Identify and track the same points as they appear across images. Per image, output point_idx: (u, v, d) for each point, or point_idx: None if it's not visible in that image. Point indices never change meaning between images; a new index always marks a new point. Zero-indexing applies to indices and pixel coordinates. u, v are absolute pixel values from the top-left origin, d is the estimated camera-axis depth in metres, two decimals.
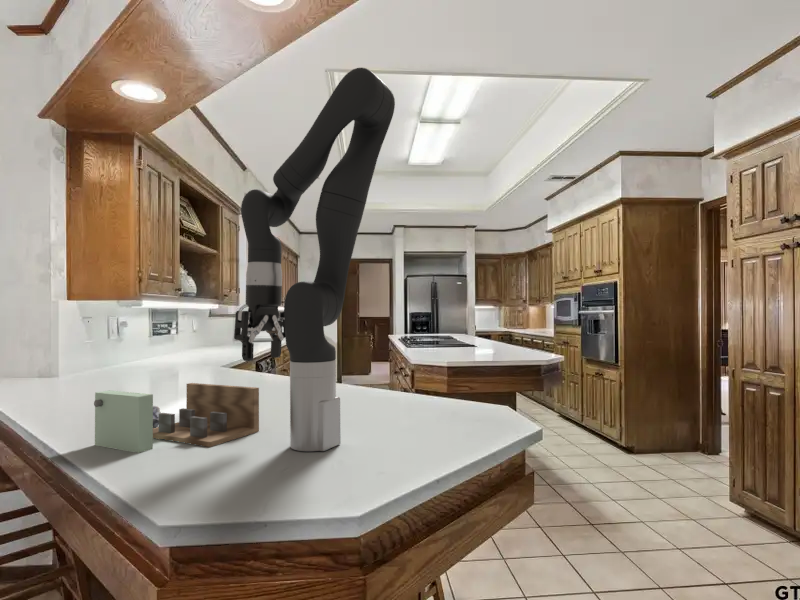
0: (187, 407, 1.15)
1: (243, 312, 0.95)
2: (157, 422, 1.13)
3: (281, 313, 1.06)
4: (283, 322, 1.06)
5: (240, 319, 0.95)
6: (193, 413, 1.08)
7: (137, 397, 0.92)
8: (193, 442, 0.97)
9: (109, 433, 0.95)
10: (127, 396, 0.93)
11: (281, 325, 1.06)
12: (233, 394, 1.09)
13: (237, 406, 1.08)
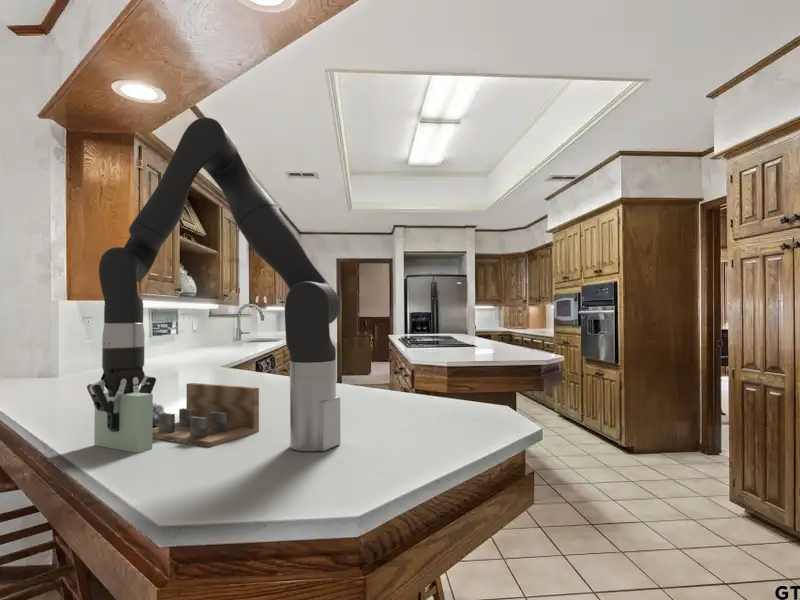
0: (187, 407, 1.15)
1: (93, 388, 0.90)
2: None
3: (148, 378, 1.01)
4: (146, 387, 1.00)
5: (94, 394, 0.91)
6: (193, 413, 1.08)
7: (137, 397, 0.92)
8: (193, 442, 0.97)
9: (109, 432, 0.95)
10: (127, 396, 0.93)
11: (143, 390, 1.00)
12: (233, 394, 1.09)
13: (237, 406, 1.08)
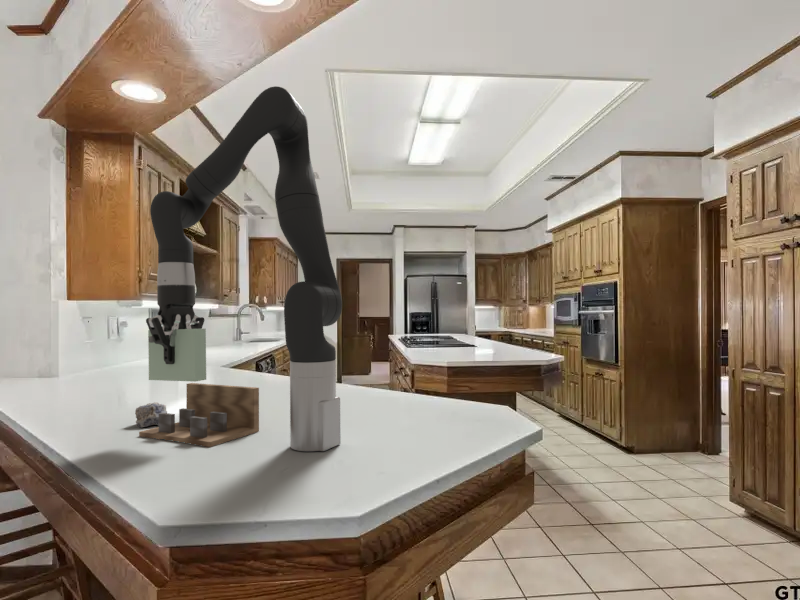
0: (187, 407, 1.15)
1: (152, 320, 0.96)
2: None
3: (197, 317, 1.07)
4: (196, 326, 1.06)
5: (153, 326, 0.97)
6: (193, 413, 1.08)
7: (192, 329, 0.98)
8: (193, 442, 0.97)
9: (164, 366, 1.01)
10: (182, 330, 0.99)
11: None
12: (233, 394, 1.09)
13: (237, 406, 1.08)
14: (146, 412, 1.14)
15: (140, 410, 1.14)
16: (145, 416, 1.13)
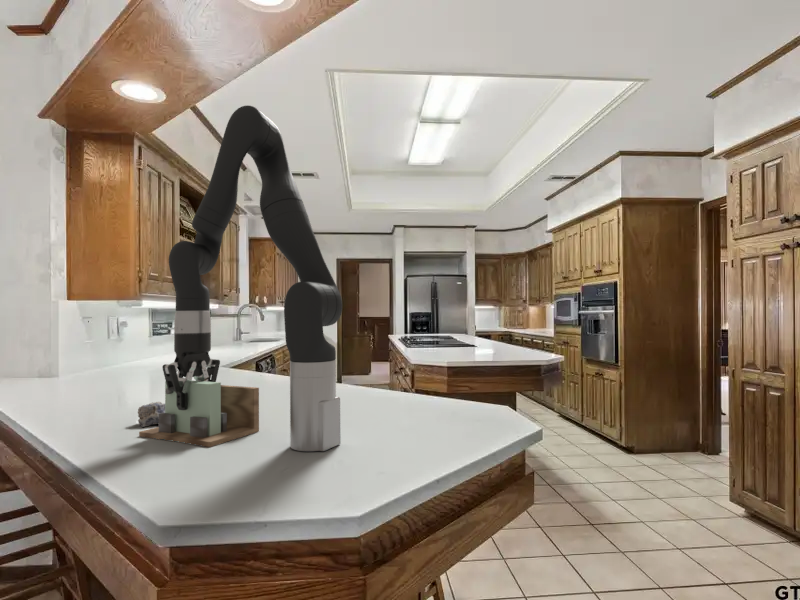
0: None
1: (169, 367, 0.98)
2: None
3: (213, 360, 1.09)
4: (212, 369, 1.09)
5: (168, 373, 0.99)
6: None
7: (208, 385, 1.00)
8: (193, 442, 0.97)
9: (180, 418, 1.04)
10: (198, 384, 1.02)
11: (210, 372, 1.09)
12: (233, 394, 1.09)
13: (237, 406, 1.08)
14: (148, 411, 1.15)
15: (142, 410, 1.15)
16: (147, 415, 1.14)
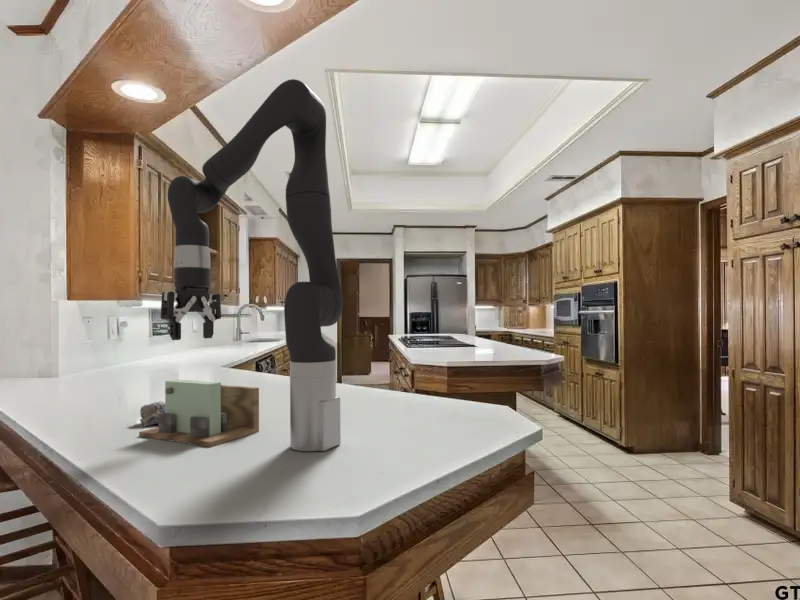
0: None
1: (168, 292, 0.99)
2: None
3: (212, 295, 1.10)
4: (215, 304, 1.10)
5: (166, 299, 0.99)
6: None
7: (208, 385, 1.00)
8: (193, 442, 0.97)
9: (180, 418, 1.04)
10: (198, 384, 1.02)
11: (213, 307, 1.10)
12: (233, 394, 1.09)
13: (237, 406, 1.08)
14: (150, 411, 1.15)
15: (144, 409, 1.15)
16: (149, 415, 1.14)
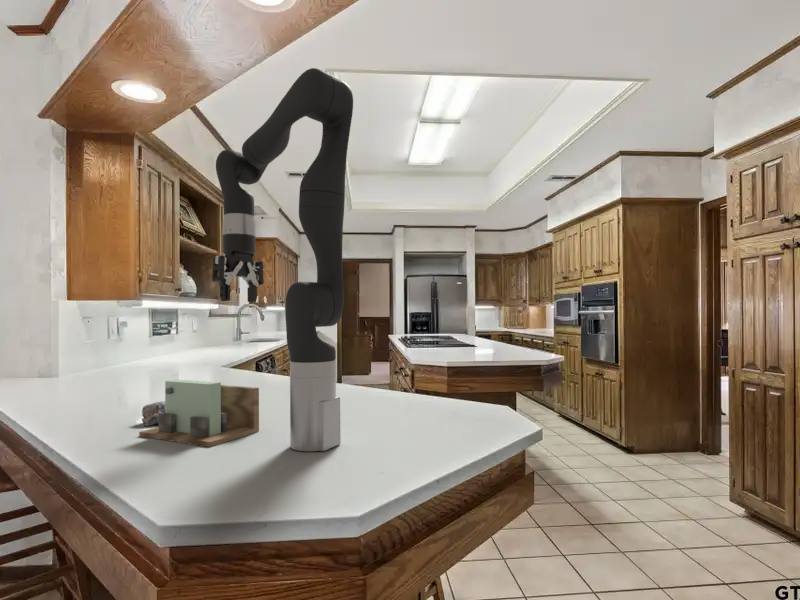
0: None
1: (219, 256, 1.06)
2: None
3: (256, 262, 1.17)
4: (258, 271, 1.17)
5: (217, 263, 1.06)
6: None
7: (208, 385, 1.00)
8: (193, 442, 0.97)
9: (180, 418, 1.04)
10: (198, 384, 1.02)
11: (256, 273, 1.18)
12: (233, 394, 1.09)
13: (237, 406, 1.08)
14: (151, 410, 1.15)
15: (146, 409, 1.16)
16: (150, 415, 1.15)
